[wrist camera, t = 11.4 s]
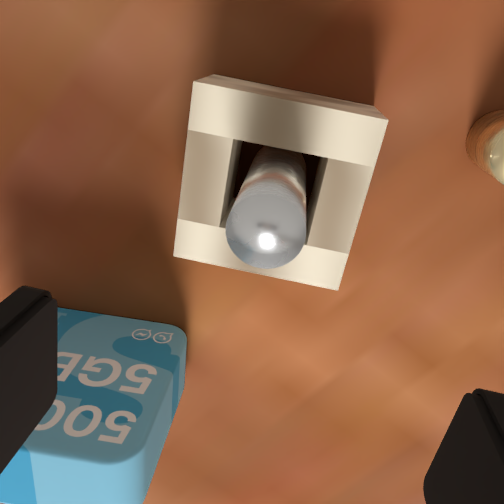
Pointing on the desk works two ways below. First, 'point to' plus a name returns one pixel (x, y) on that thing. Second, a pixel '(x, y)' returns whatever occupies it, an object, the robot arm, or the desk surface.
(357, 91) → the desk surface
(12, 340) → the robot arm
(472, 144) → the short pin
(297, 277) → the pin block
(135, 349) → the data package
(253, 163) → the tall pin
